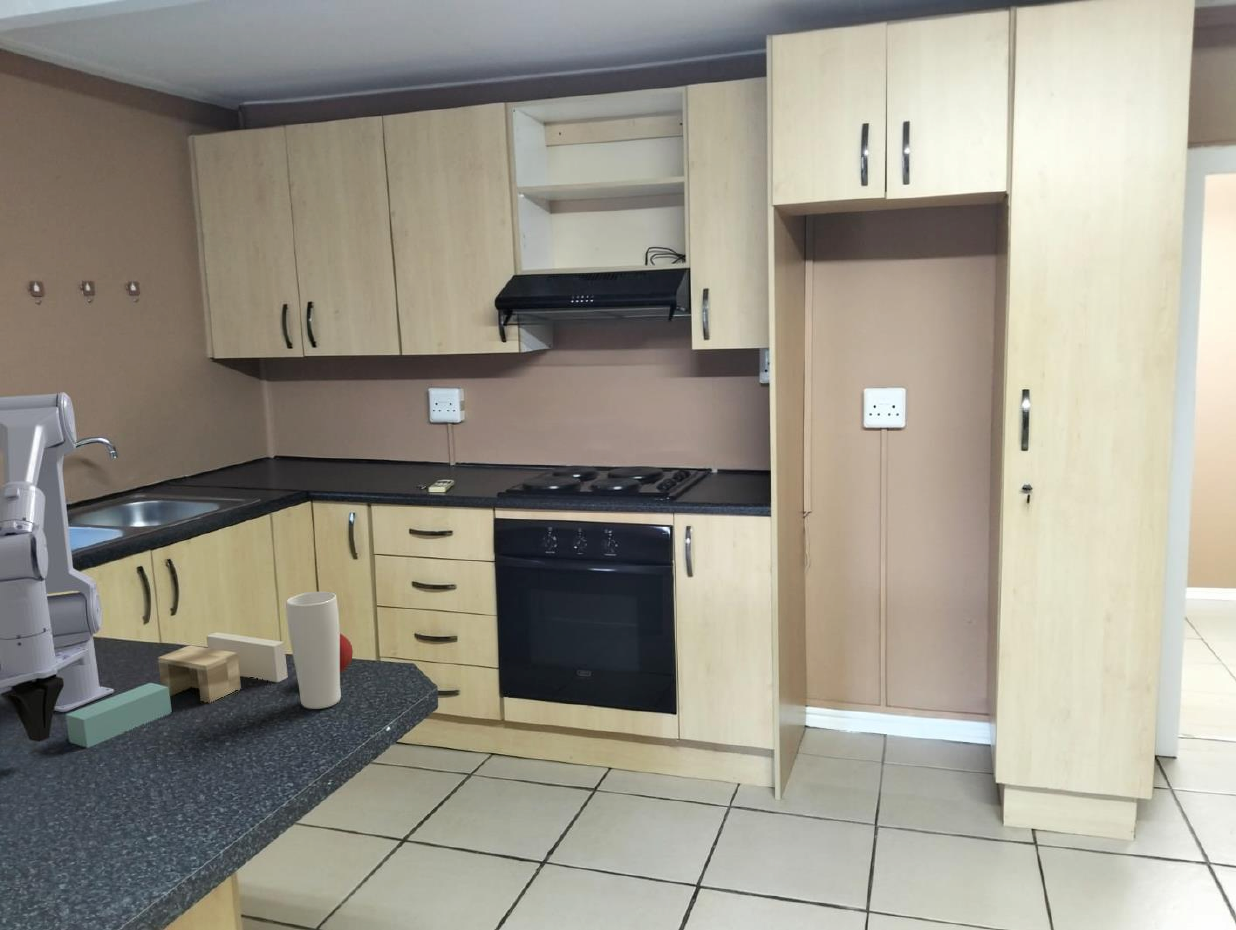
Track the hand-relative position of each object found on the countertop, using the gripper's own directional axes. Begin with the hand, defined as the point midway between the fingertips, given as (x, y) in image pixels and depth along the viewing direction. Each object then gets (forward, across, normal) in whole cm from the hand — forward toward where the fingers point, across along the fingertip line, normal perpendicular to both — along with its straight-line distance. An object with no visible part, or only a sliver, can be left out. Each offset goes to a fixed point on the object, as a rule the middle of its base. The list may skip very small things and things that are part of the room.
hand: (39, 738), depth 122 cm
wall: (+3, +32, -1) cm, 32 cm away
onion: (+3, +35, -15) cm, 38 cm away
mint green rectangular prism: (+3, +11, 0) cm, 12 cm away
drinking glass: (+3, +27, -20) cm, 34 cm away
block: (+3, +24, 0) cm, 24 cm away
